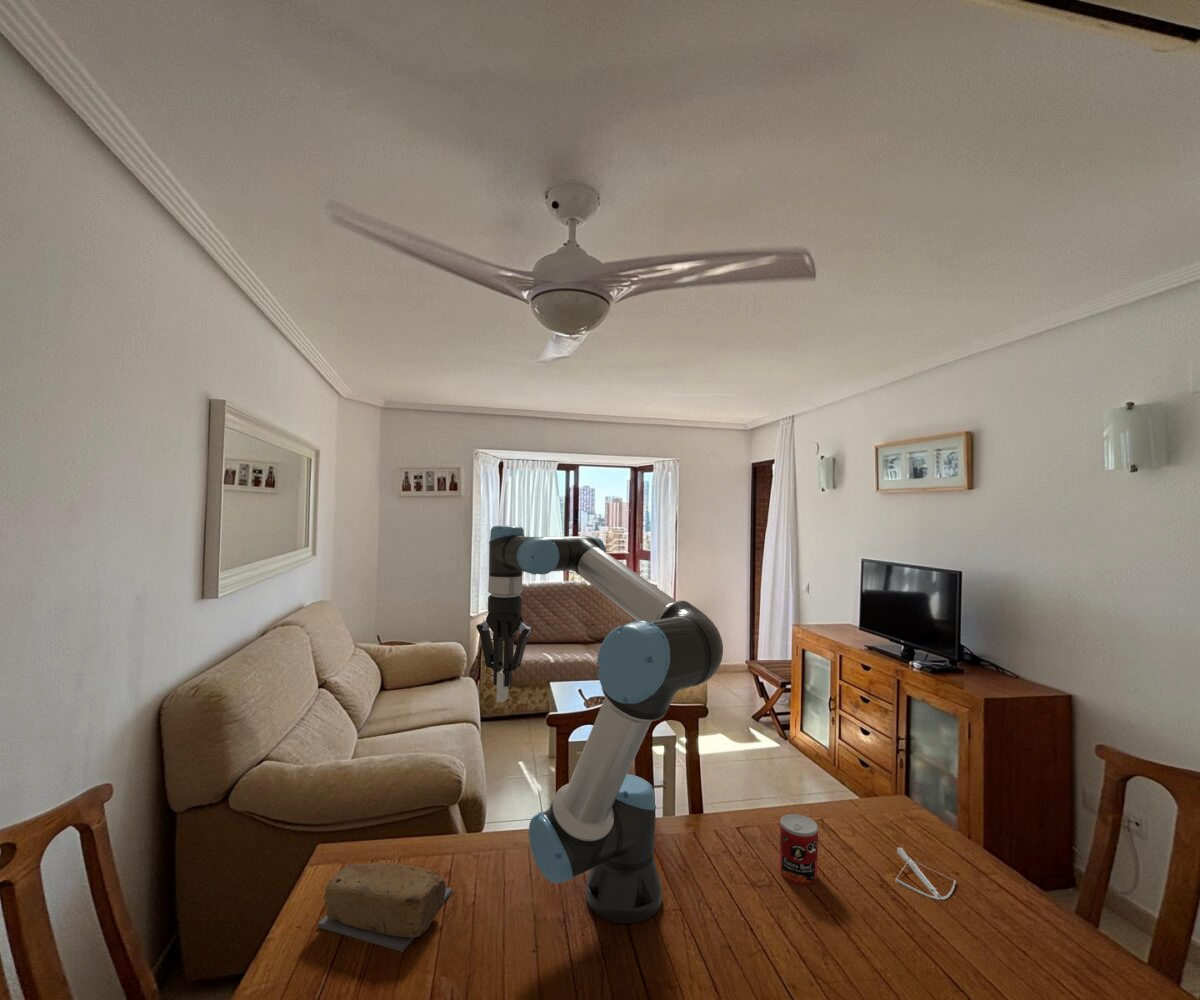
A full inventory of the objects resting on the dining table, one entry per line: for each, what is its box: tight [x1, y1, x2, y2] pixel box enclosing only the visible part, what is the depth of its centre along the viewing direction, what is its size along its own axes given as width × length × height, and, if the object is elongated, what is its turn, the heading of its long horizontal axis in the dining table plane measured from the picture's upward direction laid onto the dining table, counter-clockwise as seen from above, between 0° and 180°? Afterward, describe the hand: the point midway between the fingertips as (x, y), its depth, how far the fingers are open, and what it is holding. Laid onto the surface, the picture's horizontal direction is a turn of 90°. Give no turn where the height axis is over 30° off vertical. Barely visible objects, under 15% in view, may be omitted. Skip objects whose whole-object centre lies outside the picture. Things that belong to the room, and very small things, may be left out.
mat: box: [317, 887, 453, 953], centre depth 109 cm, size 18×16×1 cm
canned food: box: [779, 813, 819, 886], centre depth 122 cm, size 8×8×11 cm
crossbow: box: [895, 847, 957, 901], centre depth 123 cm, size 16×13×2 cm
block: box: [324, 862, 447, 939], centre depth 106 cm, size 11×8×20 cm
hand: (502, 700), depth 127 cm, fingers closed
